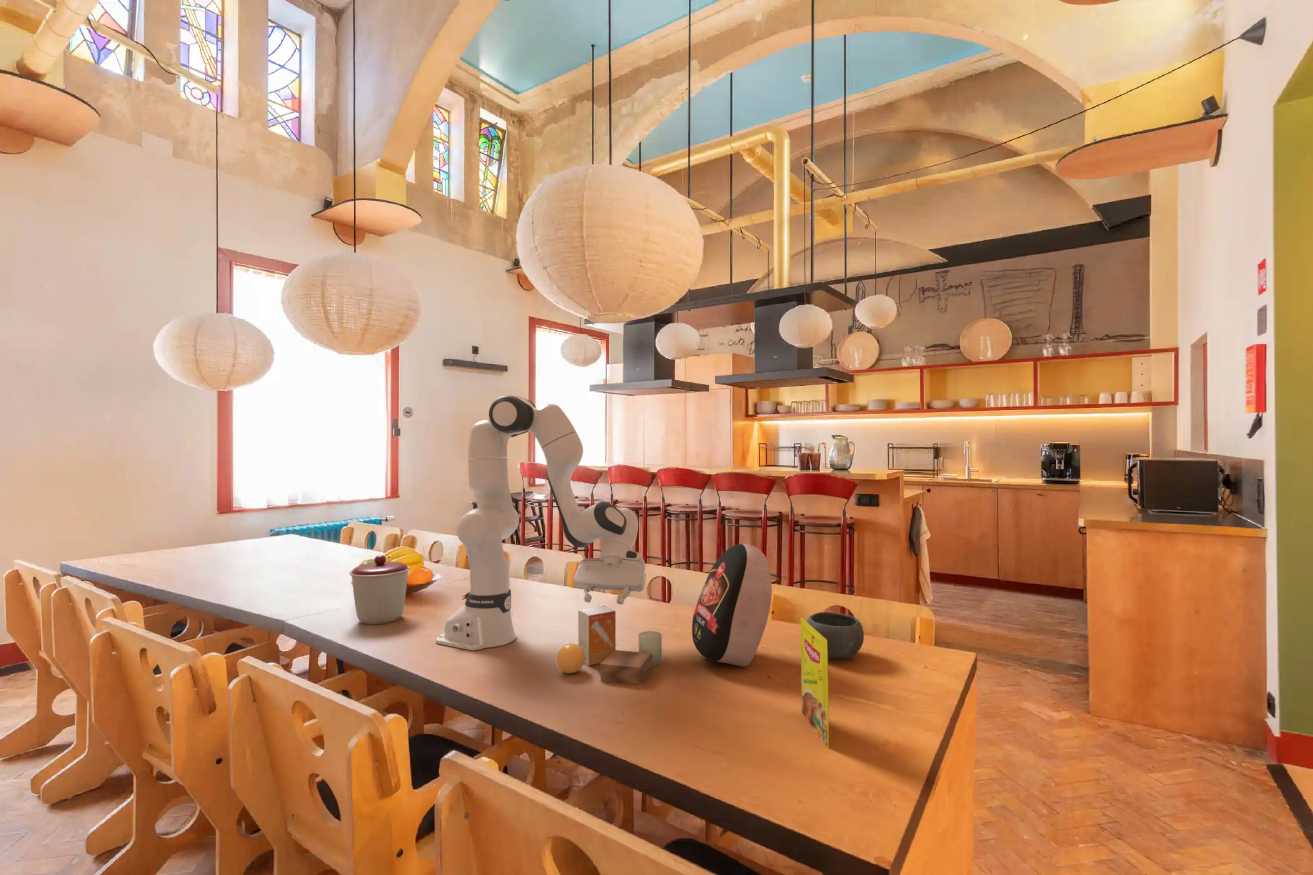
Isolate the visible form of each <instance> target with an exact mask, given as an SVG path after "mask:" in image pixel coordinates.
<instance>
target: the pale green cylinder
mask: <svg viewBox="0 0 1313 875" xmlns="http://www.w3.org/2000/svg"><path fill="white" fill-rule="evenodd" d="M662 636H663V635H662V633H661V632H658V631H652V630H649V631H641V632H640V633H638V652H643V653H652V667H654V666H659V665H661V664H662V663H663V662H662V661H663V650H662V649H663V647H662V644H663V640H662V638H663V637H662Z"/></svg>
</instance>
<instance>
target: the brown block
mask: <svg viewBox="0 0 1313 875" xmlns="http://www.w3.org/2000/svg"><path fill="white" fill-rule="evenodd" d="M599 667H600V671H599V673H600V681H603V682H613V683H621V684H629V685H630V684H632V685H639V686H640V685H642V683H643V682H644V681H645V679H646V678H647V676H649V674H650V673H651V672H652V671H653V666H652V653H643V652H639V651H629V650H621V649H620V650H618V649H616V650H614V651H613V652H612V653H611V654H610V655H609V656H608V657H607V658H606V659H605V660H604V661H603V662H602V663H599Z"/></svg>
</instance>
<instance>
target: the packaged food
mask: <svg viewBox="0 0 1313 875" xmlns="http://www.w3.org/2000/svg"><path fill="white" fill-rule="evenodd" d="M772 587H773V586H772V577H771V572H770V566H769V563H768V559H767V557H766V555H765V553H763V552H762V550H760V549H759V547H758V548H757V547H756V546H755V545H752V544H746V543H737V544H735V545H733V546H730V547H729V548H728V549H726V550H725V551H724V552H723V553H722V554H721V555H720V556H719V557H718V558H717V560H716V561H715V562H714V564H713V566H712V568H711V569H710V570H709V572H708V575H707V577H706V579H705V581H704V584H703V586H702V590H701V591H700V595H699V597H698V600H697V603H696V605H695V609H694V612H693V615H692V616H693V617H692V622H691V623H692V624H691V625H692V626H691V635H692V642H693V644H694V647H695V649H696V650H697V651H698V652H699V654H700V655H701V656H702V657H704V658H705V659H706V660H709V661H712V662H717V663H718V662H719V663H724V664H730V665H733V666H738V667H746V666H748V665H750V663H751V662H752V661H753V659H754V657H755V655H756V653H757V651H758V647H759V646H760V643H761V640H762V638H763V635H764V631H765V630H766V627H767V626H766V625H767V623H768V619H769V614H770V609H771V603H772V595H773V594H772V593H773V592H772V590H773V589H772Z"/></svg>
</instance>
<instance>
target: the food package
mask: <svg viewBox="0 0 1313 875" xmlns="http://www.w3.org/2000/svg"><path fill="white" fill-rule="evenodd" d="M800 667H801V668H800V671H801V674H800V675H801V677H800V679H801V681H800V682H801V684H800V685H801V713H802V714H803V716H804V717H805V719H806V721H807V722H808V723H809V724H810V725H811V727H812V729H813V730H814V732H815V733H816V734H817V735H818V737H819V738H820V739H821V741H822V742H823V743H824V744H825V746H826V747H827V749H829V748H830V747H829V746H830V745H829V743H830V742H829V740H830V736H829V735H830V730H829V728H830V727H829V724H830V722H829V675H828V674H829V670H828V667H829V658H828V649H827V640H826V639H825V638H824V637H823V636H822V635H821V634H820V633H818V632H817V631H816V630H815V629H814V628H813V627H812V626H811V625H809V624H808V623H807V620H806V619H804V618H803V617H802V616H800Z"/></svg>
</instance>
